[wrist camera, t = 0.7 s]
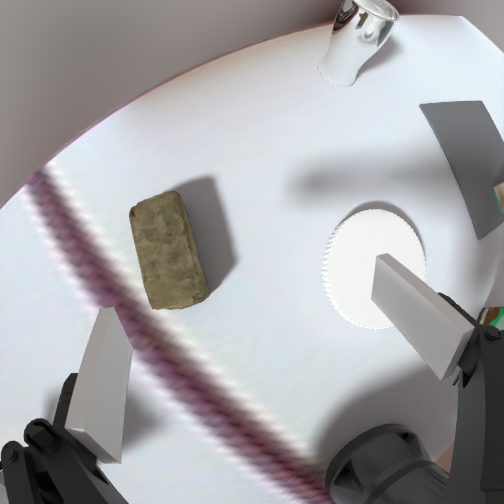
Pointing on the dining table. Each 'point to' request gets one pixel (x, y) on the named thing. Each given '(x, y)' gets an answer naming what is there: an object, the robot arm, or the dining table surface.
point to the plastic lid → (367, 262)
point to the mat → (471, 156)
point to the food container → (492, 317)
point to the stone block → (167, 253)
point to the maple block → (499, 196)
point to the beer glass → (356, 38)
